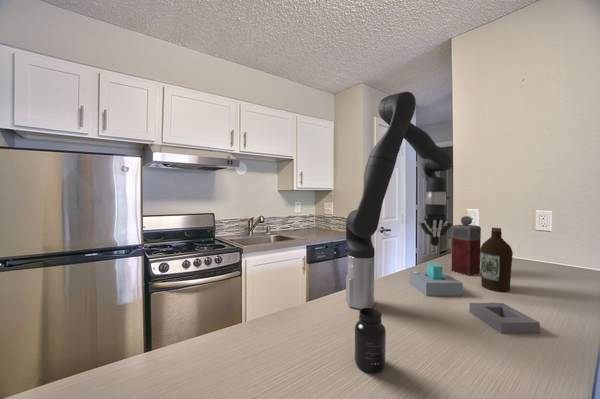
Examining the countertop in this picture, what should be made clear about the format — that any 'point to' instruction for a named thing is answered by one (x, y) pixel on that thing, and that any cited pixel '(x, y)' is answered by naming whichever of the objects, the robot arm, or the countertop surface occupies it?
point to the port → (436, 285)
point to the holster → (504, 318)
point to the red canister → (466, 247)
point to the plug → (434, 271)
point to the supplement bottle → (370, 341)
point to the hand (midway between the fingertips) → (434, 245)
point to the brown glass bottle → (496, 263)
